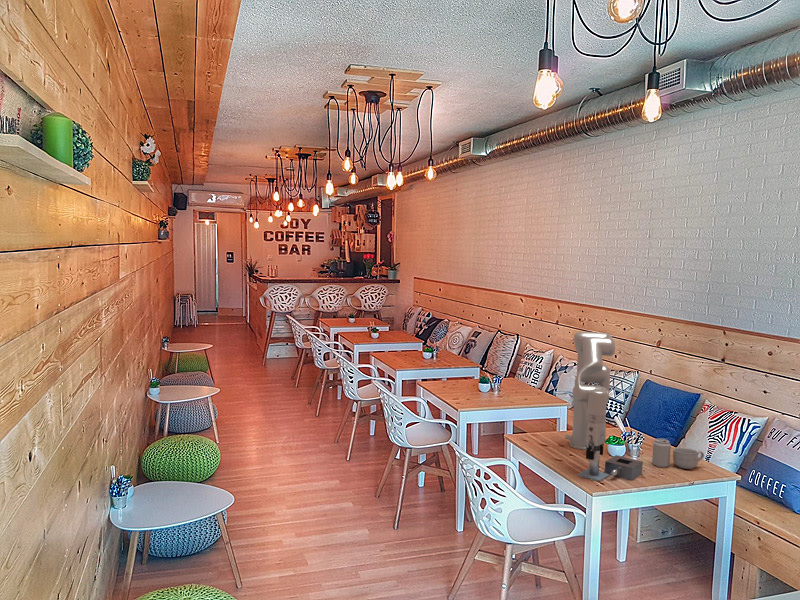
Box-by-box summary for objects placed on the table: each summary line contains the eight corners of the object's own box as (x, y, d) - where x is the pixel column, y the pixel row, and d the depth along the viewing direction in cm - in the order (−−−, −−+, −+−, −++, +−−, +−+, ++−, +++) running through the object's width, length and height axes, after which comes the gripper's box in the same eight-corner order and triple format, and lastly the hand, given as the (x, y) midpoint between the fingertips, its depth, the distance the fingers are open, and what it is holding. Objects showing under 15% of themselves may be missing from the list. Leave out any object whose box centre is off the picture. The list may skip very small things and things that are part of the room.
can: (671, 468, 277) (672, 443, 276) (653, 467, 278) (655, 441, 278) (667, 463, 284) (668, 438, 283) (650, 462, 286) (651, 437, 285)
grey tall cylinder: (596, 476, 262) (597, 444, 261) (587, 474, 264) (589, 442, 263) (600, 474, 264) (601, 442, 264) (591, 472, 267) (592, 440, 266)
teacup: (676, 470, 275) (677, 452, 275) (668, 462, 286) (669, 445, 286) (708, 472, 274) (709, 455, 273) (699, 464, 284) (701, 447, 284)
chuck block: (598, 476, 264) (599, 464, 263) (615, 466, 277) (616, 455, 277) (626, 484, 256) (626, 471, 255) (641, 473, 269) (642, 461, 269)
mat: (577, 475, 264) (577, 474, 264) (587, 470, 271) (587, 468, 271) (599, 482, 257) (599, 480, 257) (609, 476, 265) (609, 474, 265)
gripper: (596, 423, 254) (594, 463, 255) (613, 416, 267) (611, 454, 268) (579, 420, 259) (577, 459, 260) (596, 413, 272) (594, 450, 273)
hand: (594, 456), depth 264 cm, fingers open, 9 cm apart
